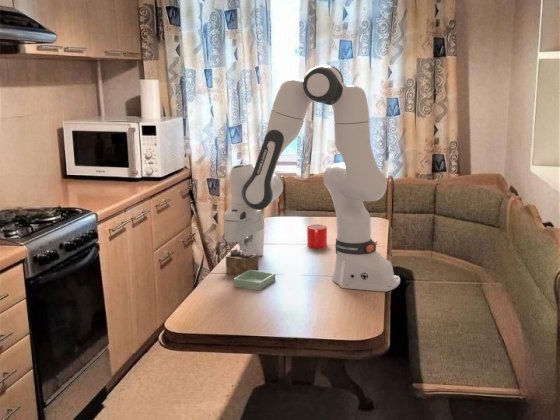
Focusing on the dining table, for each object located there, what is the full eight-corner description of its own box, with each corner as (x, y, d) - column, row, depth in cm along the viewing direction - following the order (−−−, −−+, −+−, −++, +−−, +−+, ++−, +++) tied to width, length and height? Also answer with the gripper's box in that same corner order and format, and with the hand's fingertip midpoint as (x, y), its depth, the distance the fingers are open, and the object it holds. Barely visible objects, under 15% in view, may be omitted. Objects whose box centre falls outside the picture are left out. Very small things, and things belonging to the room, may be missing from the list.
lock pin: (253, 267, 205) (252, 238, 203) (248, 269, 203) (247, 240, 200) (246, 266, 207) (244, 237, 205) (241, 268, 204) (239, 239, 202)
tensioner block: (258, 270, 206) (257, 249, 205) (248, 276, 200) (247, 254, 199) (237, 266, 211) (236, 246, 209) (226, 272, 205) (225, 251, 203)
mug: (307, 251, 227) (306, 232, 225) (307, 242, 239) (307, 224, 237) (327, 251, 226) (327, 232, 225) (326, 242, 238) (326, 224, 236)
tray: (275, 280, 196) (275, 273, 195) (260, 290, 187) (259, 283, 187) (249, 276, 201) (249, 269, 200) (233, 285, 192) (233, 278, 191)
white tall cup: (263, 257, 220) (261, 219, 217) (245, 257, 222) (244, 219, 218) (267, 252, 227) (265, 215, 223) (250, 251, 228) (248, 214, 225)
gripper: (252, 202, 210) (254, 239, 213) (219, 216, 193) (222, 255, 196) (267, 204, 207) (269, 241, 210) (235, 217, 190) (238, 257, 193)
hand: (246, 248), depth 203 cm, fingers closed on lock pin, 3 cm apart
